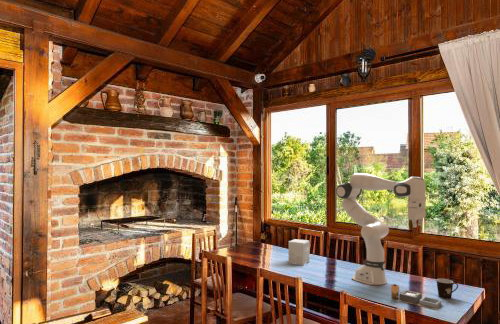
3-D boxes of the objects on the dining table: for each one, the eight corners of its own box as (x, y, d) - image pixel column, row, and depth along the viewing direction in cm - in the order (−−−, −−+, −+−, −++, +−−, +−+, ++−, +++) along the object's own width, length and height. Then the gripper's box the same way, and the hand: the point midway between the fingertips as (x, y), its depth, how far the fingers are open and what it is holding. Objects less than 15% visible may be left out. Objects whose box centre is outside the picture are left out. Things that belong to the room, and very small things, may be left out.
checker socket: (399, 300, 201) (399, 292, 201) (405, 296, 208) (405, 288, 208) (416, 304, 195) (416, 296, 195) (421, 300, 202) (421, 292, 202)
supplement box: (309, 262, 290) (309, 240, 290) (303, 265, 278) (303, 243, 279) (294, 259, 296) (294, 238, 297) (288, 263, 285) (288, 241, 286)
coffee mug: (437, 299, 204) (437, 282, 205) (435, 294, 213) (435, 278, 213) (460, 302, 200) (460, 284, 201) (457, 297, 208) (457, 280, 209)
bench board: (397, 301, 201) (397, 300, 201) (404, 296, 209) (404, 295, 209) (436, 311, 187) (436, 309, 187) (442, 305, 195) (442, 304, 195)
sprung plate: (404, 296, 201) (404, 294, 201) (407, 294, 205) (407, 292, 205) (413, 298, 198) (413, 296, 198) (416, 296, 202) (416, 294, 202)
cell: (390, 299, 204) (390, 284, 204) (392, 297, 207) (392, 282, 207) (397, 301, 201) (397, 286, 202) (399, 299, 204) (399, 284, 205)
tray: (419, 304, 194) (419, 300, 194) (424, 300, 200) (424, 296, 200) (436, 309, 188) (436, 304, 188) (441, 304, 194) (441, 300, 195)
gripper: (417, 202, 225) (417, 224, 225) (406, 204, 210) (406, 227, 210) (428, 202, 221) (428, 225, 221) (417, 204, 206) (417, 229, 206)
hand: (417, 226), depth 215 cm, fingers open, 8 cm apart
